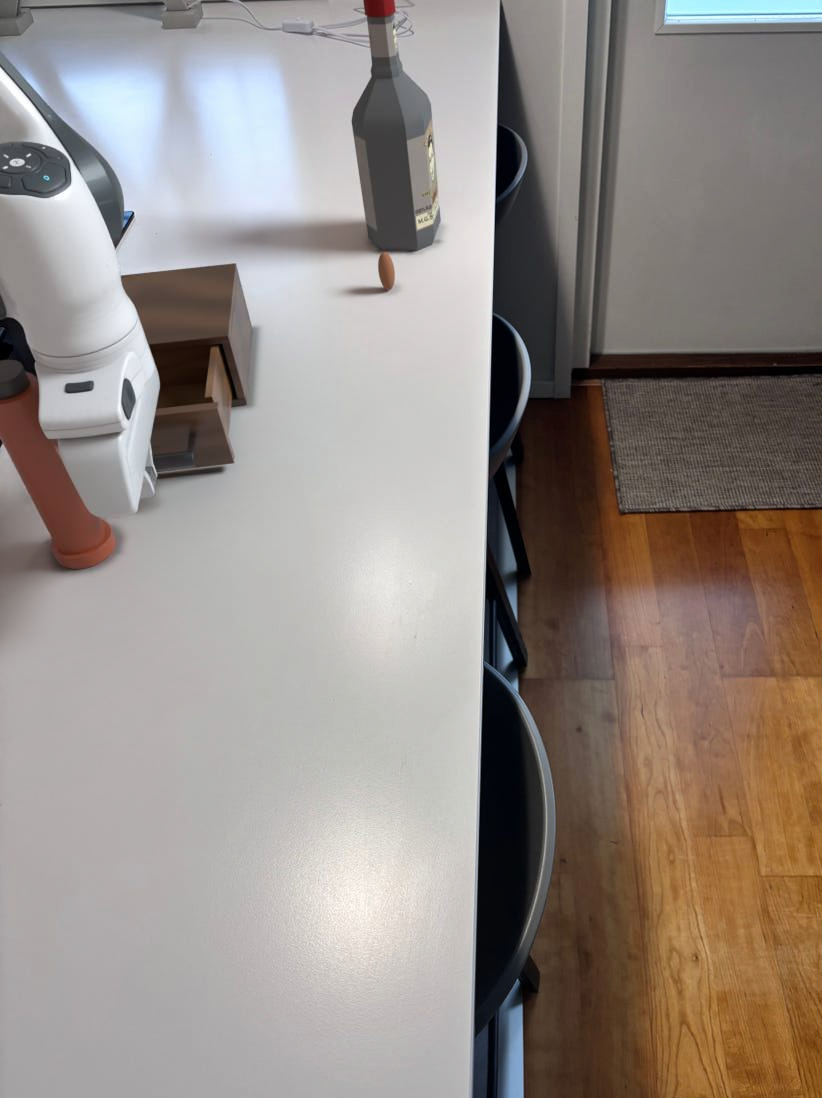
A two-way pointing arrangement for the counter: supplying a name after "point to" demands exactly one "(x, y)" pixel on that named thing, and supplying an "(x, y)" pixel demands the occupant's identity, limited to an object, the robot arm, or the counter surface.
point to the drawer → (192, 408)
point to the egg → (386, 271)
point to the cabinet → (196, 314)
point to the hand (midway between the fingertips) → (147, 488)
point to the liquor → (395, 145)
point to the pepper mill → (48, 474)
